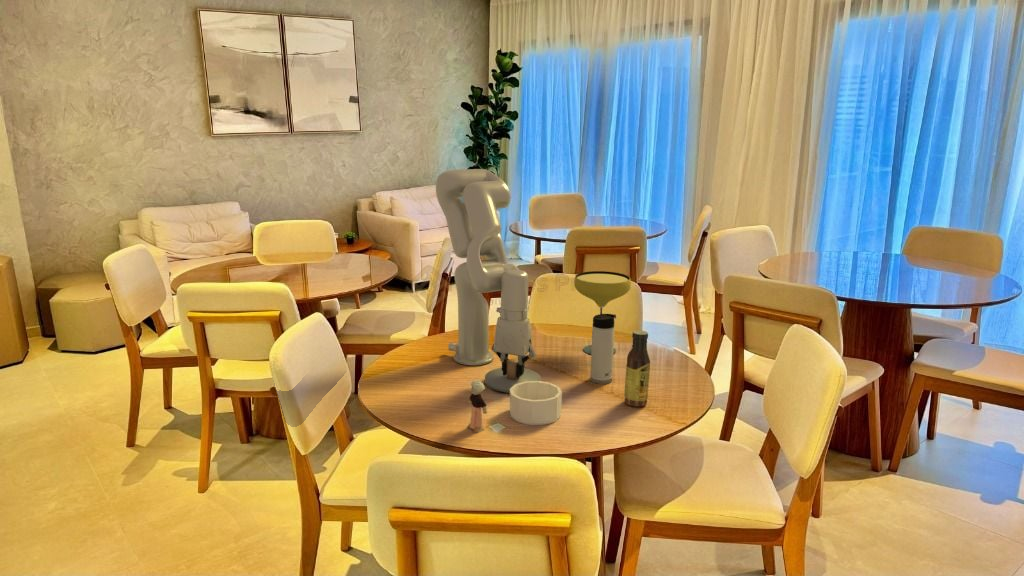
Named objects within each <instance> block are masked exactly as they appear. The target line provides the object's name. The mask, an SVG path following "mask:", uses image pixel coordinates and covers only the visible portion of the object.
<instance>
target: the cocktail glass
mask: <svg viewBox="0 0 1024 576" xmlns="http://www.w3.org/2000/svg"><path fill="white" fill-rule="evenodd" d="M573 283H574V288H575V290H576V291H577V292H578V293H579V294H581V295H583V296H584V297H586V298H588V299H589V300H592V301H593V302H594V303H595V304H596V306H597V307H599V308H600V309H599V310H600V312H599V314H603V309H604V308H605V307H606V306H607V304H608V303H610V302H611V301H613V300H616V299H618V298H621V297H623V296H625V295H626V294H628V293H629V291H630V290H631V284H632V280H631V277H630V276H629V275H626V274H625V273H620V272H616V271H615V272H614V271H606V270H605V271H604V270H603V271H602V270H596V271H595V270H594V271H593V270H592V271H590V270H589V271H585V272H579V273H577V274H575V277H574V282H573ZM582 348H583V349H582V350H583V352H584V353H585V354H588V355H590V356H591V351H592V344H588V345H586V346H584V347H582ZM616 352H617V350H616V348H615V347H613V355H614V354H616Z"/></svg>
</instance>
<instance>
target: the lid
mask: <svg viewBox="0 0 1024 576" xmlns="http://www.w3.org/2000/svg"><path fill="white" fill-rule="evenodd" d="M508 359H509V360H507V374H506V375H503V371H502V367H497V368H494V369H491V370H490V371H488V372H487V373H486V374H485V376H484V384H485V385H486V386H487V387H488V388H489V389H492V390H494V391H496V392H501V393H507V394H508V393H509V394H510V388H511V387H513V386H514V385H515V384H518V383H522V382H525V381H542V380H541V379H542V377H541V376H540V374H538V373H537V372H536V371H534V370H531V369H529V368H525V367H524V373H523V375H522V376H521V377H519V378H517V377H516V366H517V364H518V358H508Z"/></svg>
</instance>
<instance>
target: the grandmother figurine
mask: <svg viewBox="0 0 1024 576" xmlns="http://www.w3.org/2000/svg"><path fill="white" fill-rule="evenodd" d="M470 385H471V388H470V392H471V394H470V396H469V401H468V404H469V405H471V415H470V423H468V425H467V428H469V429H471V430H473V432H474V433H481V432H483V431H484V430H485V427H483V414H484V415H487V413H488V409H487V406H488V405H487V404H486V402H485V400H484V399H483V396H482V394H481V393H482V392H483V391H484V390H486V386H485V385H484V383H483V382H482V381H480V380H477V379H474V380H472V381H471V384H470Z"/></svg>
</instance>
